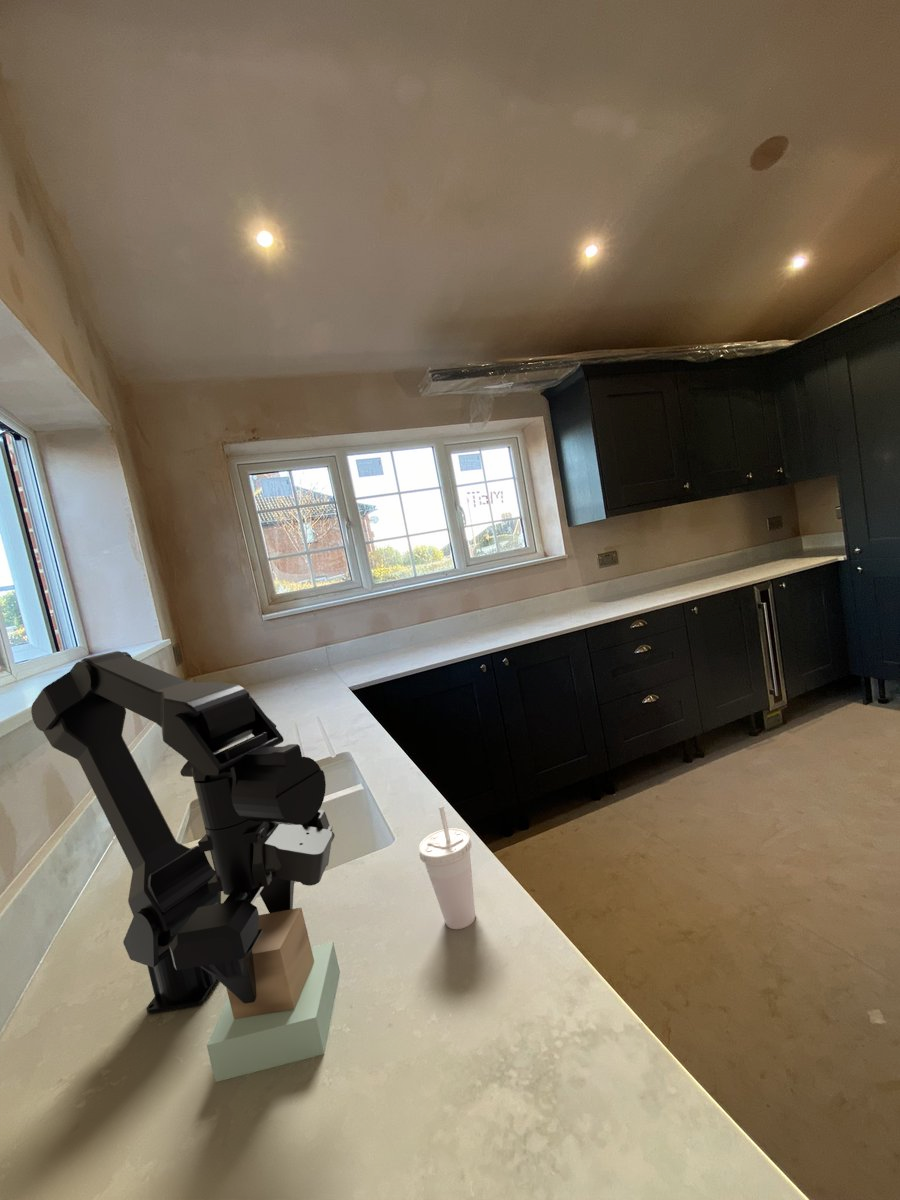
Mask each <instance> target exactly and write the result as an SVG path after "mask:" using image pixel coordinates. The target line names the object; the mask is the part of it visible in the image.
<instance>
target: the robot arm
mask: <svg viewBox="0 0 900 1200" xmlns="http://www.w3.org/2000/svg"><path fill="white" fill-rule="evenodd" d="M30 709H31V710H30V712H31V718H32V721H33V724H34V725H35V727H36V728H37V729H38V730H39V731H40V732H43V734H44V736H45V738H46V739H47V741H48V742H49V744H50V745H51V747H52V748H53V749H56V750H58V751H60V752H61V753H64V754H65V755H68V756H69V757H71V758H74V759H76V760H77V761H78V762H79V765H80V766H81V769H82V771H83V773H84V775H85V777H86V779H87V781H88V783H89V785H90V786H91V789H92V790H93V793H94V795H95V797H96V799H97V801H98V803H99V805H100V807H101V809H102V811H103V813H104V815H105V817H106V819H107V821H108V823H109V825H110V827H111V829H112V831H113V833H114V835H115V837H116V839H117V841H118V843H119V845H120V847H121V849H122V852H123V853H124V855H125V858H126V859H127V861H128V863H129V865H130V868H131V870H132V875H131V880H130V886H129V893H128V901H127V903H128V905H129V908H130V910H131V913H132V916H133V918H132V920H131V922H130V925H129V927H128V929H127V932H126V934H125V937H124V939H123V943H122V944H123V947H124V948H125V950H126V952H127V955H128V957H129V959H130V960H131V961H133V962H136V963H139V964H142V965H144V966H147V970H148V974H149V978H150V982H151V987H152V990H153V995H154V997H153V999H152V1000H151V1001H150V1002H149V1004H148V1005H147V1006H146V1009H145V1010H146V1014H155V1013H161V1012H167V1011H172V1010H179V1009H185V1008H191V1007H196V1006H200V1005H202V1003H203V1002H204V1001H205V1000H206V998H207V996H208V995H209V993H210V991H211V990H212V988H213V987H214V986H215V984H216V982H217V981H218V982H220V983H221V984H222V985H223V986H224V987H225V988H227V989H229V990H230V991H231V992H232V993H233V994H234V995H235V996H236V997H237V998H239V999H240V1000H241V1001H242V1002H243V1003H245V1004H247V1003H253V1002H255V1000H256V997H257V996H256V980H255V971H254V962H253V953H252V949H253V947H254V945H255V943H256V942H257V940H258V938H259V936H260V935H261V933H262V931H263V929H259V930H258V927H259V915H260V914H259V910H258V907H257V906H256V905H254V902H256V900H257V898H258V897H259V896H260V898H261V900H262V901H263V904H264V905H265V907H266V909H267V911H268V913H274V912H279V911H285V910H290V909H294V908H293V907H294V892H295V890H294V889H295V882H298V883H301V884H302V886H303V885H304V886H308V887H311V886H315V885H318V884H319V883H320V882H321V880H322V877H323V875H324V872H325V870H326V868H327V867H328V866H329V863H330V855H331V849H332V843H333V842H334V838H335V832H333V826H331V825H330V822H329V819H328V816H327V813H326V811H325V810H324V809H321V807H322V805H323V803H324V800H325V795H326V775H325V772H324V771H323V770H322V768H321V767H320V765H319V764H318V763H317V761H315V759H312V758H311V757H307V756H303V755H302V750H301V746H300V744H297V743H294V744H293V743H291V744H290V743H289V744H286V745H284V746H283V745H282V746H278V745H281V743H283V742H284V737H283V735H282V734H281V733H280V732H279V730H278V729H277V725H276V724H275V722H273V721H272V720H271V719H270V718H269V717H268V716H267V715H266V714H265V712H264V711H263V709H262V708H261V707H260V706H259V705H258V703H257V702H256V700H254V698H253V697H252V696H251V693H250V692H249V691H248V690H247V689H246V688H244V687H243V686H241V685H239V684H237V683H230V682H224V681H223V682H222V681H217V680H216V681H200V682H196V681H195V682H194V681H187V680H185V679H183V678H181V677H178V676H176V675H174V674H171V673H168V672H167V671H166V672H165V671H163V670H162V669H158V668H156V667H154V666H151V665H149V664H146V663H144V662H142V661H140V660H137V659H135V658H133V657H132V655H131V654H130V653H128V652H126V651H120V650H115V651H111V652H108V653H101V654H98V655H93V656H88V657H84V658H82V659H81V661H77V662H76V663H75V664H74V665H73V666H72V668H71V669H70V670H69V671H68V672H67V673H65V674H63V675H62V676H60V677H59V678H57V679H55V680H54V681H52V682H51V683H49V684H48V685H46V686H45V687H43V688H42V690H41V691H40V693H39V694H38V695H37V697H36V698H35V700H34V701H33V702H32V705H31V708H30ZM127 710H129V711H131V712H133V713H135V714H136V715H139V716H141V717H143V718H145V719H147V720H149V721H151V722H153V723H155V724H157V725H158V726H159V727H160V728H161V735H162V742H163V743H165V744H166V745H167V746H169V748H171V749H172V750H174V751H175V752H177V753H178V754H179V755H180V756H182V757H183V759H185V760H187V762H186V763H184V765H183V766H182V768H181V769H180V773H179V774H180V776H182V777H185V778H186V777H187V778H188V777H190V778H191V777H192V779H193V782H194V787H195V788H194V789H195V791H196V796H197V801H198V804H199V808H200V812H201V813H200V814H201V817H202V821H203V825H204V830H205V833H206V834H205V835H203V837H201V838H200V840H199V841H198V842H197V844H198V845H196V846H194V847H193V848H190V847H188V846H186V845H184V844H181V843H180V842H178V841H177V839H176V838H175V836H174V835H173V833H172V830H171V829H170V826H169V825H168V823H167V820H166V819H165V816H164V815H163V813H162V810H161V809H160V807H159V805H158V803H157V802H156V799H155V798H154V796H153V794H152V792H151V790H150V787H149V786H148V783H147V782H146V780H145V778H144V776H143V775H142V772H141V770H140V768H139V766H138V765H137V762H136V761H135V759H134V756H133V755H132V753H131V751H130V748H129V747H128V745H127V743H126V742H125V739H124V737H123V732H124V727H125V725H124V724H125V721H126V715H127ZM251 735H252V737H249V736H251ZM245 739H246V740H245ZM240 741H241V742H240ZM238 742H239V743H238ZM234 744H235V745H234ZM227 747H228V748H227ZM224 748H226V749H224ZM206 852H210V855H211V861H212V863H213V864H212V865H213V866H211V864H210V862H209V859H208V857H207V855H206ZM222 892H223V895H226V896H227V897H226V899H225V900H224V901H223V902H222ZM227 989H226V990H227Z"/></svg>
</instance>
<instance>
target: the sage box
mask: <svg viewBox="0 0 900 1200" xmlns="http://www.w3.org/2000/svg"><path fill="white" fill-rule="evenodd" d="M311 949H312V953H313V958H314V963H313V966H312V968H311V970H310V973H309V975H308V977H307V980H306V982H305V985H304V987H303V989H302V992H301V994H300V997H299V999H298V1001H297V1004H296V1006H295V1009H292V1010H286V1011H280V1012H274V1013H268V1014H262V1015H256V1016H250V1017H244V1018H238V1019H234V1017H233V1013H232V1009H231V1005H230V1001H229V997H227V999H226V1001H225V1004H224V1006H223V1008H222V1010H221V1011H220V1014H219V1017H218V1018H217V1019H218V1020H217V1021H216V1023H215V1026H214V1028H213V1031H212V1033H211V1035H210V1037H209V1040H208V1041H207V1043H206V1047H207V1048H206V1049H207V1052H208V1056H209V1057H208V1058H209V1061H210V1062H209V1063H210V1065H211V1069H212V1073H213V1074H212V1075H213V1077H214V1082H215V1083H217V1082H221V1081H225V1080H228V1079H232V1078H237V1077H240V1076H245V1075H248V1074H252V1073H255V1072H256V1073H257V1072H259V1071H263V1070H268V1069H272V1068H274V1067H275V1068H276V1067H278V1066H282V1065H287V1064H291V1063H295V1062H298V1061H303V1060H305V1059H309V1058H310V1059H311V1058H314V1057H318V1056H321V1055H325V1053H326V1047H327V1043H328V1036H329V1031H330V1027H331V1022H332V1021H331V1020H332V1016H333V1010H334V1006H335V1005H334V1004H335V1001H336V995H337V990H338V985H339V980H340V974H341V971H340V965H339V962H338V958H337V952H336V948H335V942H334V941H329V942H326V943H322V944H318V945H314V946H311Z"/></svg>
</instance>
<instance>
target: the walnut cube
mask: <svg viewBox="0 0 900 1200" xmlns="http://www.w3.org/2000/svg"><path fill="white" fill-rule="evenodd" d="M259 929H263V931H262V933H261V935H260V936H259V938H258V940H257V942H256V943H255V945H254V947H253V949H252V953H253V962H254V971H255V980H256V996H257V997H256V1000H255V1002H253V1003H247V1004H245V1003H243V1002H242V1001H241V1000H240V999H239V998H237V997H236V996H235V995H234V994H233V993H232V992H231V991H230V990H229V989H227V988H226V987H225V988H226V993H227V996H228V997H229V1001H230V1005H231V1009H232V1013H233V1017H234V1019H238V1018H244V1017H250V1016H256V1015H262V1014H268V1013H274V1012H280V1011H286V1010H292V1009H295V1006H296V1004H297V1001H298V999H299V997H300V994H301V992H302V989H303V987H304V985H305V982H306V980H307V977H308V975H309V973H310V970H311V968H312V966H313V963H314V958H313V953H312V949H311V947H312V945H311V941H310V937H309V933H308V928H307V925H306V920H305V917H304V913H303V909H302V907H296V908H293V909H290V910H285V911H279V912H274V913H269V912H268V913H264V914H259V927H258V930H259ZM228 997H227V998H228Z"/></svg>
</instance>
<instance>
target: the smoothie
mask: <svg viewBox="0 0 900 1200" xmlns="http://www.w3.org/2000/svg"><path fill="white" fill-rule="evenodd" d="M438 811H439V815H440V819H441V824H442V827H443V828H442V829H441V830H437V831H435V832H432V833H430V834H428V835H427V836H426V837H425V838H424V839H422V840H421V842H420V843H419V845H418V853H419V855H418V856H419V859H420V860H421V862H422V863H424V865H425V869H426V872H427V873H428V874H427V875H428V877H429V880H430V882H431V885H432V888H433V891H434V894H435V897H436V900H437V902H438V905H439V908H440V911H441V914H442V917H443V920H444V922H445V925H446V926H447V928H449V929H452V930H460V929H465V928H468V927H469V926H470V925H471V924H473V922H474V921H475V919H476V907H475V906H476V905H475V896H474V886H473V885H474V883H473V874H472V873H473V871H472V860H471V859H472V858H471V848H472V840H471V837H470V833H469V832H468V831H466V830H464V829H461V828H456V827H455V828H449V825H448V821H447V818H446V817H447V816H446V811H445V807H444V805H439V806H438Z"/></svg>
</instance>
